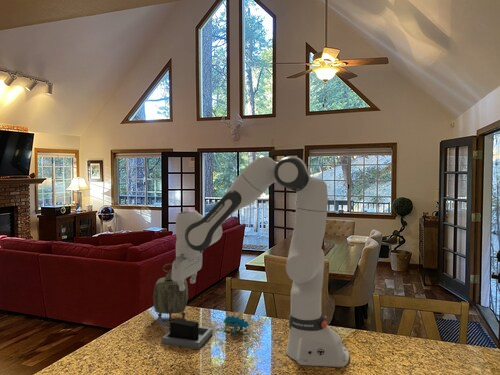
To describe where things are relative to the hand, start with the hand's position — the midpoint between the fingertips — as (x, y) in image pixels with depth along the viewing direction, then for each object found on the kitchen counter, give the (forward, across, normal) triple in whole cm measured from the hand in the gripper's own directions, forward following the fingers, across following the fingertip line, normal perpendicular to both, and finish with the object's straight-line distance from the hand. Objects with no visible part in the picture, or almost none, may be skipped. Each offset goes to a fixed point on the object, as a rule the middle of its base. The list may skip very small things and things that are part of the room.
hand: (187, 286), depth 147 cm
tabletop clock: (+21, +16, +16) cm, 31 cm away
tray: (+21, 0, 0) cm, 21 cm away
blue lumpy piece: (+21, +13, -16) cm, 29 cm away
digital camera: (+21, -1, 0) cm, 21 cm away
